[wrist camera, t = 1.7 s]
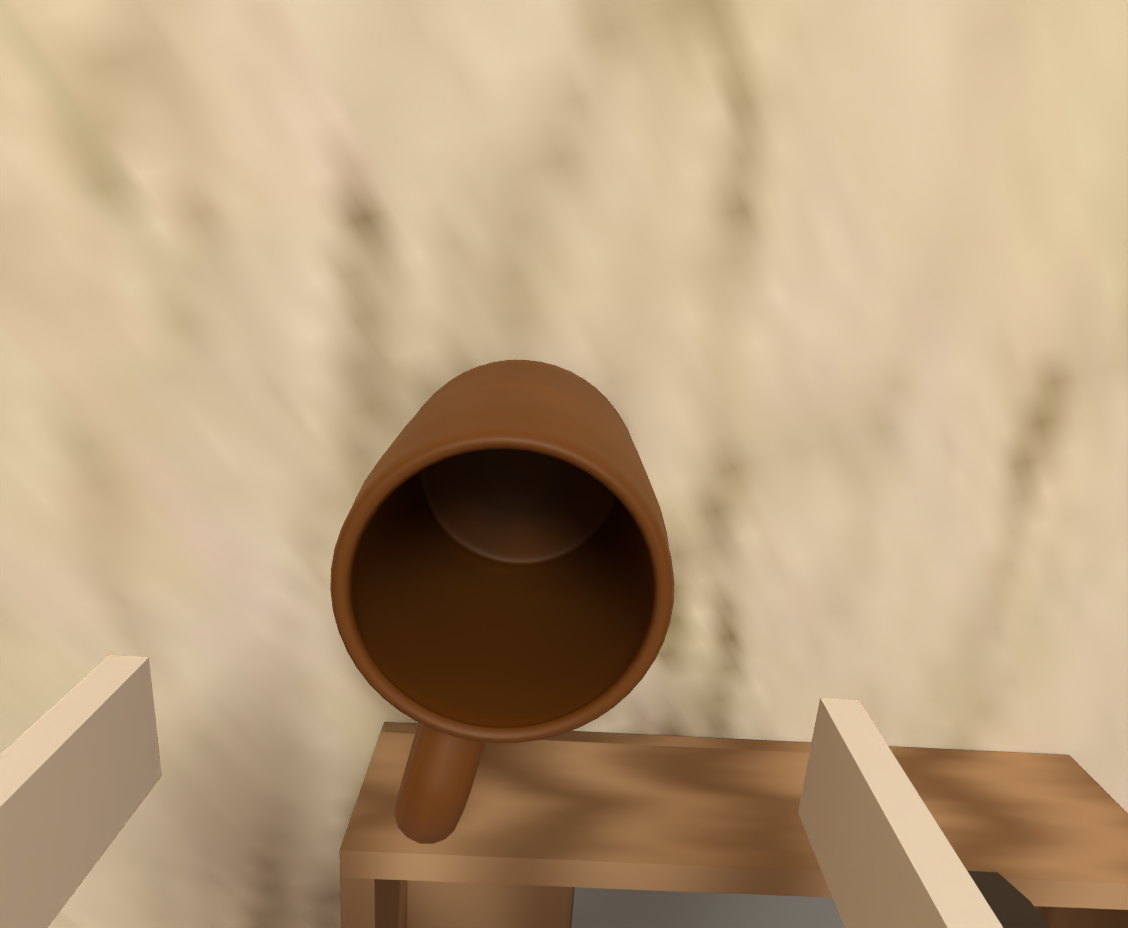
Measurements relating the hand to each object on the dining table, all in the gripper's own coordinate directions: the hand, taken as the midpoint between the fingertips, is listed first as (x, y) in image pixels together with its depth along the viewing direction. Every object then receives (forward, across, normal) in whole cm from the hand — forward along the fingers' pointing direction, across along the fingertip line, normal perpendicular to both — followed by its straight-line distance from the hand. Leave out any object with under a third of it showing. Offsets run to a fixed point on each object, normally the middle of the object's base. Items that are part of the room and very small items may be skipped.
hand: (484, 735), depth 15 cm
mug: (+11, -1, 0) cm, 11 cm away
